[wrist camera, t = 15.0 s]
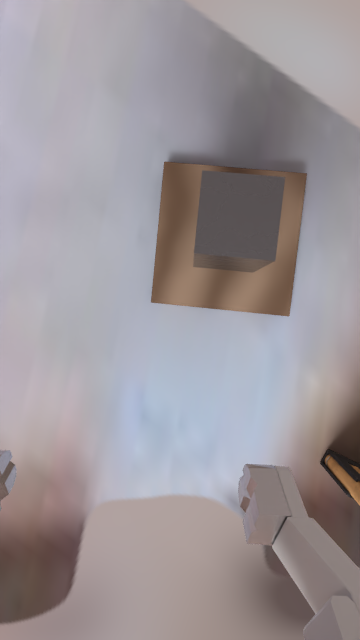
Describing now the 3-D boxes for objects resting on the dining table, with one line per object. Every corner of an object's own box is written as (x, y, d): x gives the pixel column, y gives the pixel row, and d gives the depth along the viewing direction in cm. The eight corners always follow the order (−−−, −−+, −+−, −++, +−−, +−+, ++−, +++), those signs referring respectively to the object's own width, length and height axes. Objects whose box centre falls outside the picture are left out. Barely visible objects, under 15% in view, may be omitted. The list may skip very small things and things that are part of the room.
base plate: (153, 302, 30) (151, 302, 28) (165, 168, 29) (164, 161, 28) (284, 315, 30) (289, 316, 28) (300, 180, 29) (306, 173, 27)
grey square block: (193, 267, 28) (193, 253, 21) (199, 206, 28) (202, 170, 20) (252, 272, 28) (275, 260, 20) (259, 211, 28) (285, 176, 20)
